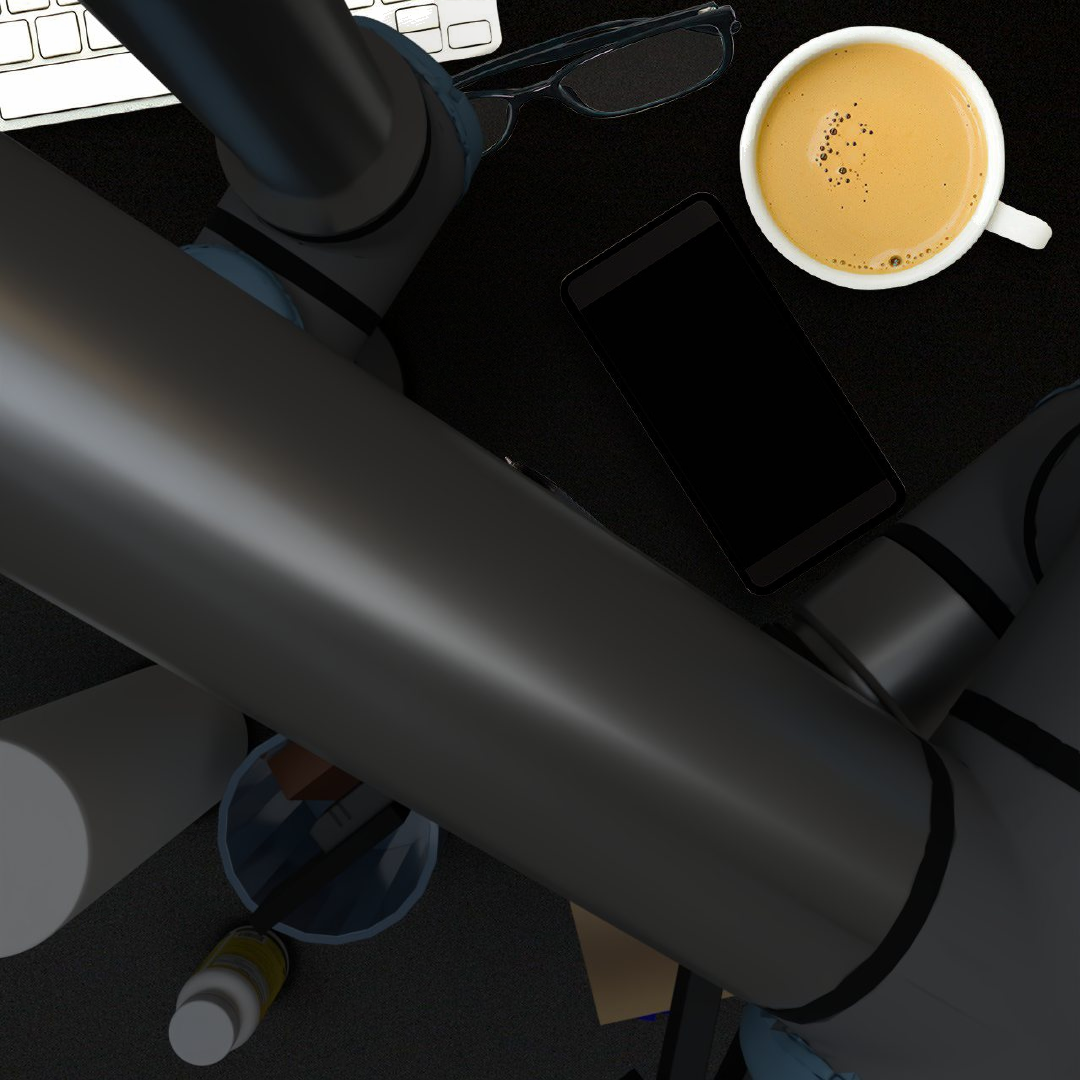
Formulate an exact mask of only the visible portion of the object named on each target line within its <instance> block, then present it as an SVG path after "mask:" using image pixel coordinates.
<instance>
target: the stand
mask: <svg viewBox="0 0 1080 1080" xmlns="http://www.w3.org/2000/svg"><path fill="white" fill-rule="evenodd" d="M568 903H569V906H570V910H571V914H572V919H573V922H574V926H575V929H576V933H577V938H578V942H579V946H580V950H581V954H582V958H583V962H584V966H585V970H586V974H587V978H588V982H589V986H590V990H591V994H592V999H593V1002H594V1007H595V1010H596V1015H597V1018H598V1022H599V1025H600V1026H604V1025H608V1024H614V1023H619V1022H623V1021H627V1020H631V1019H637V1018H636V1017H641V1016H645V1015H650V1014H655V1013H656V1014H660V1013H659V1012H664V1011H668V1010H670V1006H671V1001H672V996H673V991H674V986H675V981H676V976H677V971H678V966H679V964H678V963H677V962H675V961H673V960H672V959H670V958H668V957H666V956H665V955H663V954H661V953H659V952H658V951H656V950H654V949H652V948H651V947H649V946H647V945H645V944H644V943H642V942H640V941H639V940H637V939H635V938H633V937H632V936H630V935H628V934H626V933H625V932H623V931H621V930H619V929H618V928H616V927H614V926H612V925H611V924H609V923H607V922H606V921H604V920H602V919H600V918H599V917H597V916H595V915H593V914H592V913H590V912H588V911H586V910H585V909H583V908H581V907H579V906H578V905H576V904H574V903H573V902H571V901H569V900H568ZM732 997H735V996H734V995H732V994H731V993H729V992H727V991H725V990H724V989H723V993H722V998H721V1000H722V999H727V998H732Z"/></svg>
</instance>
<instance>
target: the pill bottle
mask: <svg viewBox="0 0 1080 1080" xmlns="http://www.w3.org/2000/svg"><path fill="white" fill-rule="evenodd" d="M289 966H290V959H289V954H288V950H287V948H286V945H285V943H284V942H283V941H282V939H281V938H280V937H279V936H278V935H277V934H276V933H275V932H273V931H272V930H271V929H270V930H269V931H267V932H266V933H265V934H264V935H262V936H260V935H259V934H258V933H257V931H256V930H255V929H254V928H253V926H252V925H251V924H250V925H243V926H240V927H237V928H234V929H232V930H231V931H230V932H228V933H227V934H225V936H224V937H222V939H221V940H220V941H219V942H218V943H217V944H216V946H215V947H214V948H213V949H212V951H211V952H210V953H209V954H208V955H207V957H206V958H205V959H204V960H203V961H202V962H201V964H200V965H199V966H198V968H197V969H196V970H195V971H194V972H193V973H192V974H191V976H190V977H189V978H188V979H187V980H186V982H185V984H183V986H182V988H181V990H180V991H179V993H178V996H177V999H176V1004H175V1012H174V1013H173V1015H172V1017H171V1020H170V1022H169V1024H168V1039H169V1044H170V1045H171V1048H172V1050H173V1051H174V1053H175V1054H176V1055H177V1056H178V1057H179V1058H180V1059H181V1060H183V1061H184V1062H186V1063H188V1064H191V1065H193V1066H200V1067H202V1066H203V1067H204V1066H210V1065H214V1064H216V1063H218V1062H220V1061H221V1060H223V1059H224V1058H225V1057H226V1056H227V1055H228V1054H229V1053H230V1052H231V1051H234V1050H236V1049H238V1048H240V1047H241V1046H243V1045H244V1044H245V1043H246V1042H247V1041H248V1040H249V1039H250V1038H251V1036H252V1035H253V1034H254V1032H255V1031H256V1029H257V1028H258V1027H259V1025H260V1023H261V1021H262V1020H263V1018H264V1017H265V1015H266V1013H267V1012H268V1010H269V1008H270V1007H271V1005H272V1004H273V1002H274V1000H275V999H276V997H277V995H278V994H279V992H280V991H281V989H282V987H283V985H284V984H285V982H286V979H287V977H288V974H289V969H290V967H289Z"/></svg>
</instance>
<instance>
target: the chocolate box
mask: <svg viewBox="0 0 1080 1080" xmlns="http://www.w3.org/2000/svg"><path fill="white" fill-rule="evenodd" d="M267 764H268V766H269V768H270V769H271V771H272V773H273V775H274V777H275V779H276V780H277V782H278V784H279V786H280V788H281V790H282V791H283V793H284V795H285V797H286V799H287V800H307V801H336V800H338V799H339V798H340V797H341V796H343V795H344V794H345V793H346V792H348V791H349V790H350V789H351V788H353V787H354V786H355V785H356V784H358V783H359V782H360V781H361V780H359V779H357V778H355V777H354V776H352V775H350V774H348V773H347V772H345V771H343V770H341V769H340V768H338V767H336V766H335V765H333V764H331V763H329V762H328V761H326V760H324V759H322V758H321V757H319V756H317V755H315V754H314V753H312V752H310V751H308V750H307V749H305V748H303V747H302V746H300V745H298V744H296V743H295V742H293V741H292V742H291V743H290V744H289V745H287V746H286V747H285V748H283V749H282V750H281V751H280V752H278V753H277V754H276V755H274V756H273V757H272V758H271V759H269V760H268V761H267Z"/></svg>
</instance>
